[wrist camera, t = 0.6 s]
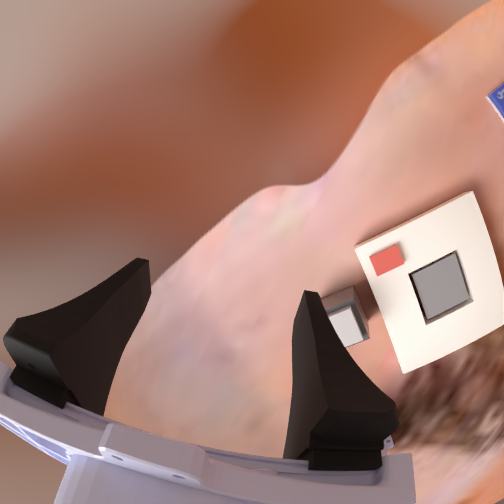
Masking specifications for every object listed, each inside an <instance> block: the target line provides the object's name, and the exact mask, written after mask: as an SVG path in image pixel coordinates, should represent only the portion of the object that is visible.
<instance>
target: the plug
mask: <svg viewBox="0 0 504 504" xmlns="http://www.w3.org/2000/svg"><path fill="white" fill-rule="evenodd" d="M321 301H322V303H323V306H324V308H325V310H326V313H327V315H328V317H329V319H330V321H331V323H332V325H333V327H334V329H335V331H336V333H337V335H338V336H339V338H340V340H341V341H342V343H343V345H344V346H345V348H347V347H349V346H352V345H354V344H357V343H360V342H362V341H365V340H367V339H370V337H369V327H368V320H367V317H366V315H365V313H364V310H363V308H362V305H361V303H360V300H359V298H358V296H357V293H356V291H355V289H354V286H350V287H348V288H346V289H343V290H341V291H339V292H336V293H334V294H332V295H329V296H327V297H325V298H322V299H321Z"/></svg>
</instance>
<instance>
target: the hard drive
mask: <svg viewBox="0 0 504 504" xmlns="http://www.w3.org/2000/svg"><path fill="white" fill-rule="evenodd" d="M486 98H487V100H488V101H489V102H490V104H491V105H492V106H493V108H494V109H495V110H496V112H497V113H498V115H499V116H500V118H501V119H502V120H503V122H504V83H502V84H501V85H500V86H499V87H497V88H496V89H495V90H494V91H493V92H491V93H490V94H489V95H488V96H486Z"/></svg>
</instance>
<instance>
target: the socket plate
mask: <svg viewBox="0 0 504 504" xmlns="http://www.w3.org/2000/svg"><path fill="white" fill-rule="evenodd" d="M354 249H355V251H356V254H357V256H358V258H359V260H360V263H361V265H362V267H363V270H364V272H365V274H366V277H367V279H368V281H369V284H370V286H371V289H372V291H373V294H374V296H375V299H376V301H377V304H378V306H379V309H380V311H381V314H382V316H383V319H384V322H385V324H386V327H387V330H388V332H389V335H390V338H391V341H392V343H393V346H394V349H395V352H396V355H397V358H398V360H399V363H400V366H401V369H402V372H403V374H405V373H407V372H410V371H412V370H414V369H417V368H419V367H421V366H424V365H426V364H428V363H430V362H433V361H435V360H437V359H439V358H441V357H443V356H445V355H448V354H450V353H452V352H454V351H456V350H458V349H460V348H462V347H464V346H466V345H468V344H469V343H471V342H473V341H475V340H477V339H479V338H481V337H483V336H484V335H486V334H488V333H490V332H491V331H493V330H495V329H497V328H498V327H500V326H502V325H503V324H504V287H503V283H502V279H501V275H500V271H499V267H498V264H497V260H496V256H495V253H494V250H493V246H492V243H491V240H490V237H489V234H488V231H487V228H486V225H485V222H484V219H483V216H482V213H481V211H480V208H479V205H478V203H477V200H476V198H475V195H474V193H473V191H468V192H464V193H462V194H460V195H458V196H456V197H454V198H452V199H450V200H448V201H446V202H444V203H442V204H440V205H438V206H436V207H434V208H432V209H430V210H428V211H426V212H424V213H422V214H420V215H418V216H416V217H414V218H412V219H410V220H408V221H406V222H404V223H402V224H400V225H398V226H396V227H393V228H391V229H389V230H387V231H385V232H383V233H381V234H379V235H377V236H375V237H373V238H370V239H368V240H366V241H364V242H362V243H360V244H358V245H355V246H354ZM451 252H454V253H455V255H456V258H457V261H458V264H459V267H460V270H461V273H462V276H463V280H464V283H465V286H466V290H467V293H468V297H469V299H467V300H465V301H463V302H461V303H459V304H458V305H456V306H454V307H452V308H450V309H448V310H446V311H444V312H442V313H440V314H438V315H436V316H434V317H431V318H429V319H427V318H426V316H424V317H423V315H422V312H421V309H420V306H419V303H418V300H417V297H416V294H415V292H414V289H413V286H412V283H411V281H410V278H409V275H408V273H411V272H413V271H415V270H417V269H419V268H421V267H423V266H425V265H427V264H429V263H431V262H433V261H435V260H437V259H439V258H441V257H443V256H445V255H447V254H449V253H451Z"/></svg>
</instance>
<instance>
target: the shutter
mask: <svg viewBox="0 0 504 504" xmlns="http://www.w3.org/2000/svg"><path fill="white" fill-rule="evenodd" d="M411 275H412V278H413V280H414V283H415V286H416V288H417V291H418V294H419V297H420V300H421V303H422V306H423V309H424V312H425V315H426V318H427V319H429V318H431V317H434V316H436V315H438V314H440V313H442V312H444V311H446V310H448V309H450V308H452V307H454V306H456V305H458V304H459V303H461V302H463V301H465V300H467V299H469V297H468V293H467V290H466V286H465V283H464V280H463V276H462V273H461V270H460V267H459V264H458V261H457V258H456V255H455V253H452V254H450V255H448V256H446V257H444V258H442V259H440V260H438V261H436V262H434V263H432V264H430V265H428V266H426V267H424V268H422V269H420V270H418V271H416V272H414V273H412V274H411Z"/></svg>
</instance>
